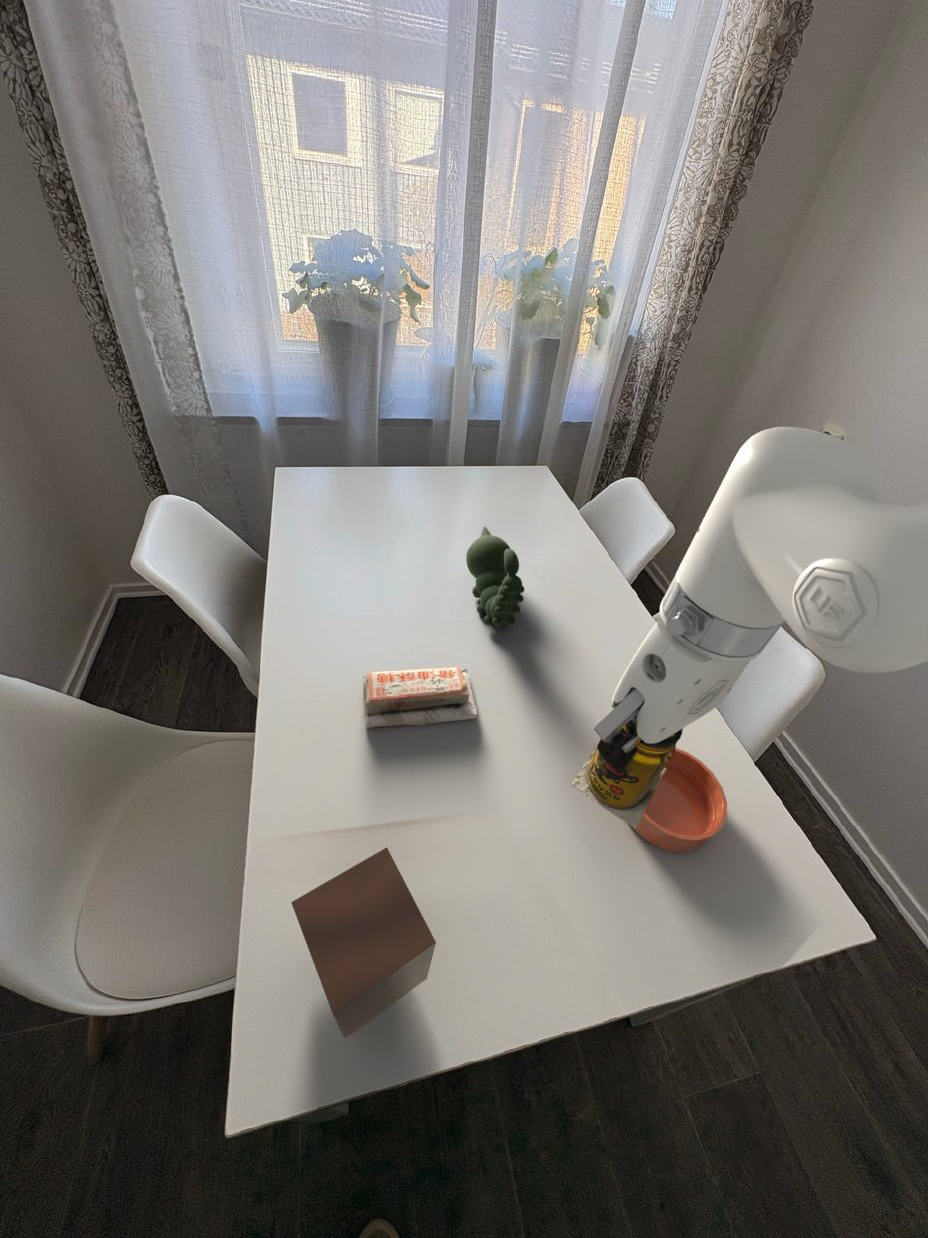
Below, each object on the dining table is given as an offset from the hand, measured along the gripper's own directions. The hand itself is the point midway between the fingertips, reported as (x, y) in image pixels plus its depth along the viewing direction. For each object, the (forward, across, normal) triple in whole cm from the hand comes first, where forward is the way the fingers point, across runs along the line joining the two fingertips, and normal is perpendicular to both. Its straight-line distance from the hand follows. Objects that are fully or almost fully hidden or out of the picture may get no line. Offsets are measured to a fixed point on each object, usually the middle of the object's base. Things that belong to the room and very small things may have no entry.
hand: (635, 744), depth 49 cm
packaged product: (+29, -5, +32) cm, 44 cm away
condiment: (+7, +1, 0) cm, 8 cm away
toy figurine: (+29, +20, +48) cm, 59 cm away
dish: (+29, +19, -1) cm, 35 cm away
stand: (+29, -27, +3) cm, 40 cm away
